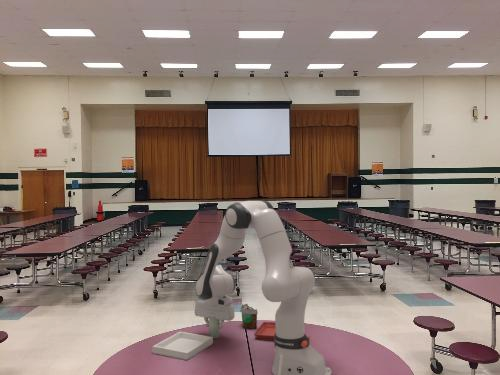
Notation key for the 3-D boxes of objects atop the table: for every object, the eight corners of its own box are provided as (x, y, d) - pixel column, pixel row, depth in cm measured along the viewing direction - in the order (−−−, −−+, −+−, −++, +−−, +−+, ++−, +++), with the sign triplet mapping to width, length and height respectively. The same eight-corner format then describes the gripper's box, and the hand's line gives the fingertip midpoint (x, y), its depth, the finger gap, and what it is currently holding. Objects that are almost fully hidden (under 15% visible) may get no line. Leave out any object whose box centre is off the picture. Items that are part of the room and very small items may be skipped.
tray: (213, 343, 194) (212, 337, 194) (187, 360, 176) (187, 353, 176) (180, 337, 202) (180, 331, 202) (152, 353, 184) (152, 346, 184)
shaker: (221, 335, 204) (221, 311, 204) (216, 339, 200) (215, 314, 200) (212, 334, 207) (212, 310, 206) (207, 337, 202) (206, 312, 202)
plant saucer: (253, 340, 198) (253, 333, 198) (263, 327, 215) (263, 321, 215) (292, 344, 193) (292, 337, 193) (299, 330, 210) (299, 324, 210)
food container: (236, 324, 220) (236, 305, 220) (247, 322, 223) (247, 303, 223) (246, 331, 209) (246, 311, 209) (257, 329, 211) (257, 309, 211)
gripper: (191, 297, 205) (192, 326, 205) (229, 302, 196) (229, 332, 196) (199, 294, 210) (199, 322, 211) (235, 298, 201) (236, 328, 202)
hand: (214, 327), depth 203 cm, fingers closed on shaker, 5 cm apart
